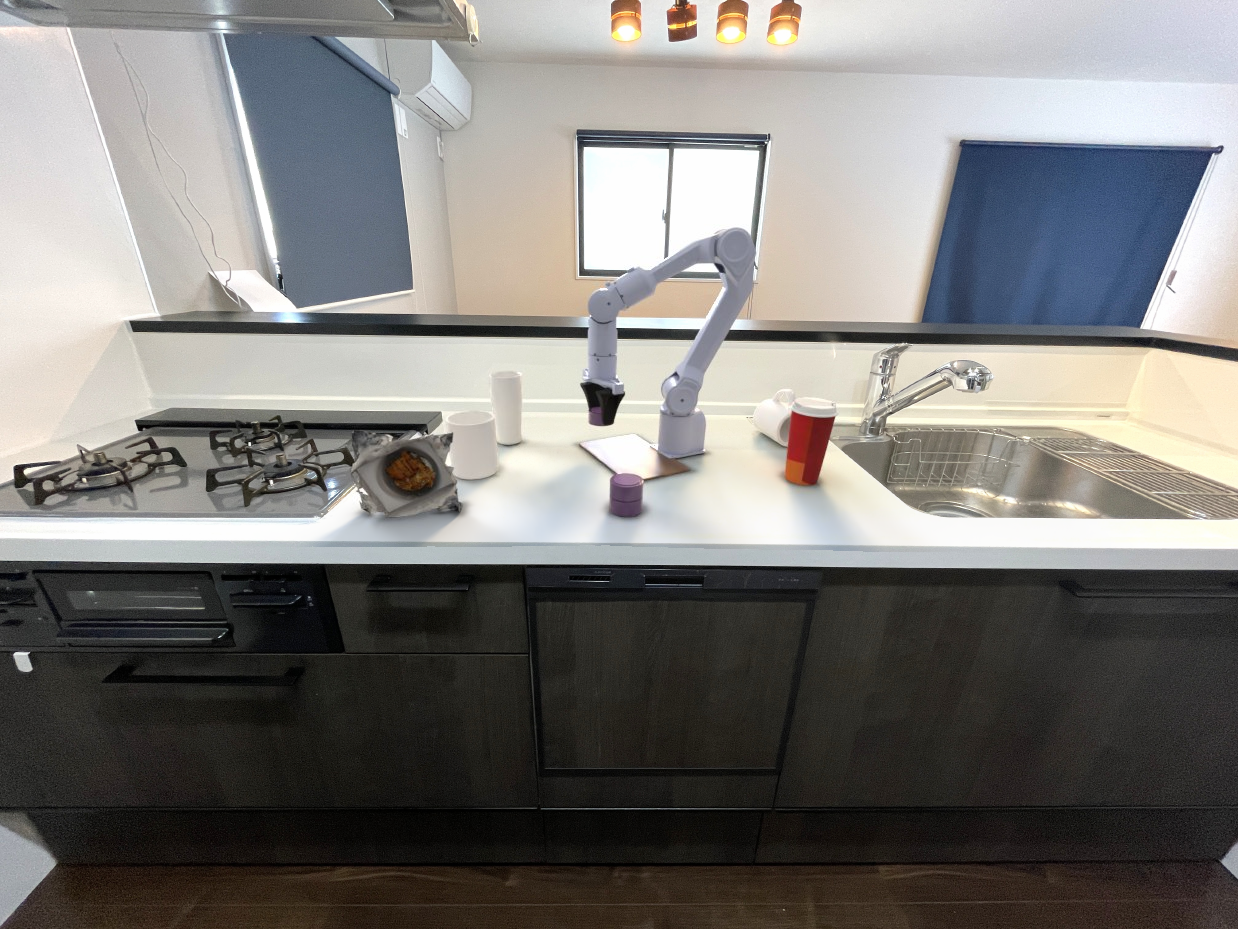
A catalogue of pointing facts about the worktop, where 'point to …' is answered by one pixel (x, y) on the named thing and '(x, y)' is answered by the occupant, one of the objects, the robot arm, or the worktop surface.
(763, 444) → the worktop surface
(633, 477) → the dish middle
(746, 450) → the worktop surface
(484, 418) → the mug
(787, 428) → the mug
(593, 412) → the dish top
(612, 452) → the mat
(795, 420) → the coffee cup
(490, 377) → the drinking glass
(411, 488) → the meal
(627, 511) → the dish bottom
